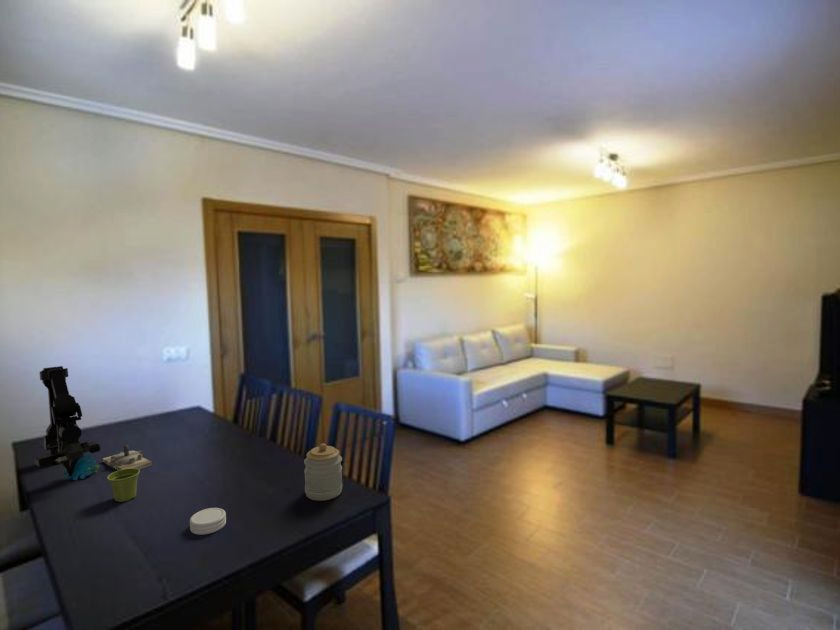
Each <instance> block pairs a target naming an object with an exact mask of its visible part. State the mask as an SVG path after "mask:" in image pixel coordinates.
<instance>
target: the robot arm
mask: <svg viewBox="0 0 840 630" xmlns="http://www.w3.org/2000/svg"><path fill="white" fill-rule="evenodd" d="M67 378H69V370H68V368H67V367H66V368H65V367H63V365H60V366H51V367H43V368H42V370H40V371H39V379H40V381H41V382H42V384H43V386H44V387H45V388H46V389H47V392H48V393H47V395H48V406H49V408H48V409H49V421H50V424H48V427H47V428H46V429H45V435H44V437H43V447H44V450H45V452H46V451H49V452H48V453H42V454H39V455H36V456H35V457H34V459H33V460H34V465H36V466H37V467H39V468H43V467H47V466H50V465H52V466H54V465H61V466H62V467H63V470H64V471H66V472H67V476H69V477H70V476H72V475H73V472H74V469H75V466H76V464H77V462H78V460H80V459H81V458H83V454H86V453H88V452H89V453H90V454H95V453H98V452H101V444H99V443H98V442H96V441H90V442H88V441H85V442H81V443H80V441H79V440H80V438H81V436H82V433H83V432H82V429H81V428H80V426H79V425H78V424H77V421H81V420H82V417H83V413H82V408H81V405H80V404H79V402H76V398H75V396H72V395H71V394H70V393H69V388H68V384H67ZM83 459H84V458H83Z"/></svg>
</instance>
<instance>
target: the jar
mask: <svg viewBox="0 0 840 630" xmlns="http://www.w3.org/2000/svg"><path fill="white" fill-rule="evenodd" d="M305 455H306V456H305V457H306V458H305V459H304V460H303V464H304V465H305V468H304V483H305V484H304V492H305V496H306V498H308V499H309V500H312V501H320V502H321V501H329V500H331V499H335V498H337V497H338V496H340V494H341V493H342V491H343V479H342V478H343V474H342V473H343V471H342V470H343V466H342V464H341V462H342V461H343V457H342V456H341V455H340V450H339V449H337V448H336V447H334V446H331V445H327V444H326V443H321V444H319V445H318V446H315V447H313V448H311V450H309V451H308V452H307V453H306V454H305Z"/></svg>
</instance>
